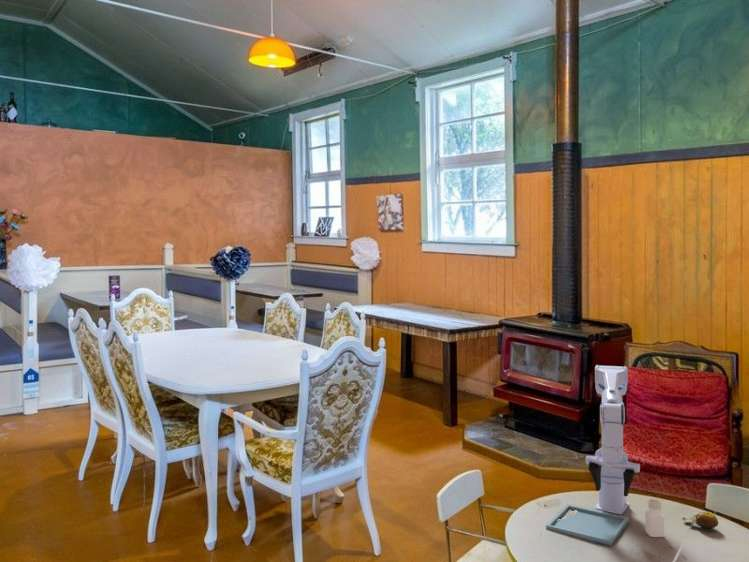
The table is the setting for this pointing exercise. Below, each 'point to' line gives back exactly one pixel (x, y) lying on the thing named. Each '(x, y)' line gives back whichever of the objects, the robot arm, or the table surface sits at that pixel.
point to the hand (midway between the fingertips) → (612, 492)
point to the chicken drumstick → (704, 520)
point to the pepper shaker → (654, 519)
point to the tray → (589, 525)
